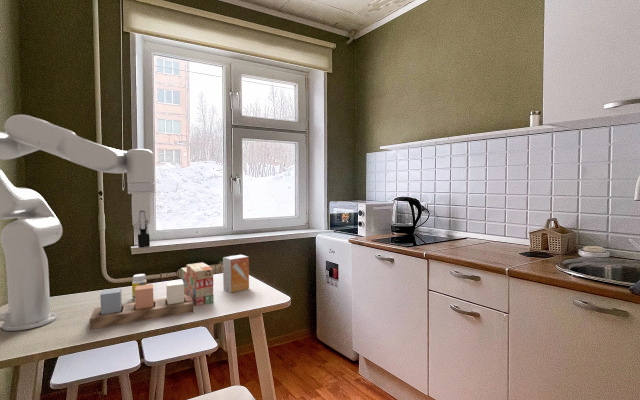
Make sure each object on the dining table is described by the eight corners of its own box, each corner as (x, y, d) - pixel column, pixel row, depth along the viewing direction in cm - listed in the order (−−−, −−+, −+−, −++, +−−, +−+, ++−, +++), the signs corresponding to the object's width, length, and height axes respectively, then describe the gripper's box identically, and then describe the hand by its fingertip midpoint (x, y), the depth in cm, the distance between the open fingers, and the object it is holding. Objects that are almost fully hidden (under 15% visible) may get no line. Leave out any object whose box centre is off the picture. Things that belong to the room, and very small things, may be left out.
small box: (231, 293, 129) (230, 259, 129) (223, 289, 134) (222, 257, 134) (249, 288, 135) (249, 256, 135) (241, 285, 140) (240, 254, 139)
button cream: (167, 304, 109) (166, 286, 109) (166, 300, 113) (166, 282, 113) (184, 302, 111) (183, 283, 111) (182, 297, 115) (182, 280, 115)
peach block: (135, 309, 105) (134, 290, 105) (136, 304, 109) (135, 286, 109) (153, 306, 107) (153, 287, 107) (153, 302, 111) (152, 283, 111)
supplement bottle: (140, 300, 123) (140, 277, 123) (129, 299, 124) (128, 276, 124) (149, 296, 128) (149, 273, 127) (138, 295, 129) (138, 273, 128)
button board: (90, 329, 98) (89, 317, 97) (95, 317, 106) (94, 306, 106) (193, 312, 110) (193, 301, 110) (190, 303, 119) (190, 293, 119)
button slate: (101, 314, 101) (100, 294, 101) (103, 309, 105) (102, 290, 105) (120, 311, 103) (119, 292, 103) (121, 306, 107) (121, 287, 107)
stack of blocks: (181, 291, 133) (180, 260, 133) (197, 288, 137) (197, 258, 137) (195, 306, 116) (194, 270, 115) (214, 302, 119) (213, 268, 119)
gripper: (129, 189, 112) (131, 244, 113) (126, 189, 98) (129, 252, 99) (154, 188, 115) (156, 242, 116) (155, 188, 102) (157, 249, 102)
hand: (144, 246), depth 107 cm, fingers closed
